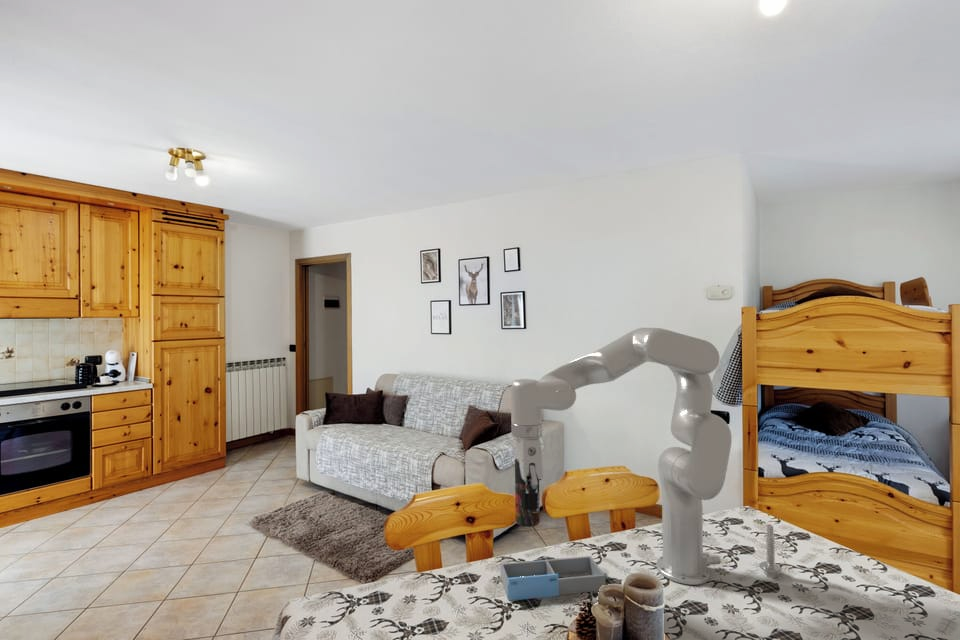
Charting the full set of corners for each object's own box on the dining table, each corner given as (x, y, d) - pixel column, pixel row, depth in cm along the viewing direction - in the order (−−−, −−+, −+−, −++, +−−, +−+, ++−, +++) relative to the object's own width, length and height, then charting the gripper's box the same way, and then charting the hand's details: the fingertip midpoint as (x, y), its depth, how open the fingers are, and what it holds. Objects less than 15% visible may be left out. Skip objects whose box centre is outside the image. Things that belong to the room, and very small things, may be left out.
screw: (760, 568, 117) (782, 574, 115) (758, 576, 114) (781, 583, 111) (759, 518, 118) (782, 523, 115) (758, 525, 114) (781, 530, 111)
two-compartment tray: (590, 569, 117) (590, 550, 117) (606, 591, 108) (606, 570, 108) (500, 577, 114) (500, 557, 114) (508, 600, 104) (508, 579, 105)
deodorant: (538, 527, 107) (538, 464, 107) (513, 525, 108) (513, 463, 108) (540, 517, 113) (539, 457, 113) (516, 515, 114) (516, 456, 114)
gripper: (551, 438, 103) (552, 517, 103) (532, 421, 120) (533, 489, 120) (519, 439, 102) (520, 519, 101) (504, 423, 119) (505, 491, 119)
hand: (527, 502), depth 111 cm, fingers closed on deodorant, 5 cm apart
